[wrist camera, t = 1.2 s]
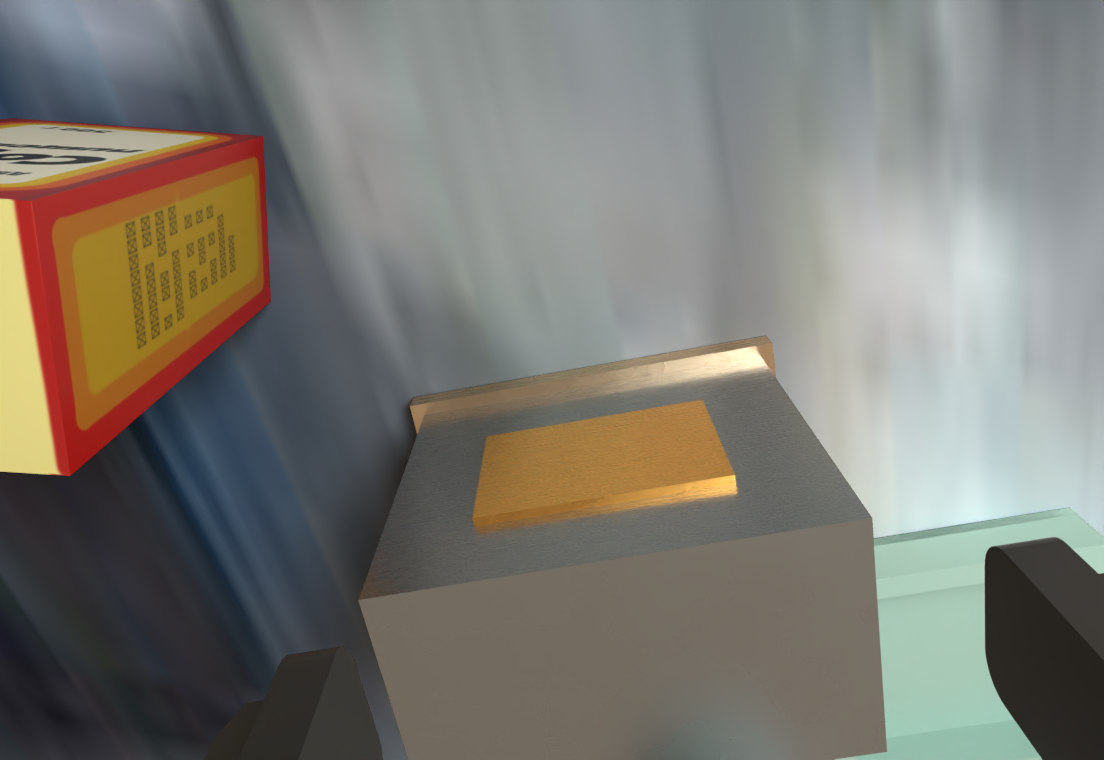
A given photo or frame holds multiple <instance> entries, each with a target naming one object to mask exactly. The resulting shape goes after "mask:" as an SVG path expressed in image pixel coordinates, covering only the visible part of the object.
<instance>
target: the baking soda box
mask: <svg viewBox="0 0 1104 760" xmlns="http://www.w3.org/2000/svg"><path fill="white" fill-rule="evenodd" d="M270 301H271V297H270V276H269V254H268V233H267V212H266V190H265V169H264V148H263V136H253V135H239V134H225V133H211V132H197V131H183V130H169V129H155V128H141V127H127V126H113V125H99V124H85V123H71V122H57V121H43V120H29V119H15V118H10V119H1V120H0V472H17V473H33V474H49V475H65V476H71V475H72V474H73V473H74V472H75V471H77V470H78V469H79V468H80V467H81V466H82V465H83V464H85V463H86V462H87V461H88V460H89V459H90V458H91V457H93V456H94V455H95V454H96V453H97V452H98V451H99V450H101V449H102V448H103V447H104V446H105V445H106V444H108V443H109V442H110V441H111V440H112V439H113V438H114V437H116V436H117V435H118V434H119V433H120V432H121V431H122V430H124V429H125V428H126V427H127V426H128V425H129V424H130V423H132V422H133V421H134V420H135V419H136V418H137V417H139V416H140V415H141V414H142V413H143V412H144V411H145V410H147V409H148V408H149V407H150V406H151V405H152V404H153V403H155V402H156V401H157V400H158V399H159V398H160V397H161V396H163V395H164V394H165V393H166V392H167V391H168V390H169V389H171V388H172V387H173V386H174V385H175V384H176V383H178V382H179V381H180V380H181V379H182V378H183V377H184V376H186V375H187V374H188V373H189V372H190V371H191V370H192V369H194V368H195V367H196V366H197V365H198V364H199V363H200V362H202V361H203V360H204V359H205V358H206V357H207V356H209V355H210V354H211V353H212V352H213V351H214V350H215V349H217V348H218V347H219V346H220V345H221V344H222V343H223V342H225V341H226V340H227V339H228V338H229V337H230V336H231V335H233V334H234V333H235V332H236V331H237V330H238V329H240V328H241V327H242V326H243V325H244V324H245V323H246V322H248V321H249V320H250V319H251V318H252V317H253V316H254V315H256V314H257V313H258V312H259V311H260V310H261V309H262V308H264V307H265V306H266V305H267V304H268V303H269V302H270Z"/></svg>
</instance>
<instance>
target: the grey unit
mask: <svg viewBox="0 0 1104 760" xmlns="http://www.w3.org/2000/svg"><path fill="white" fill-rule="evenodd" d="M410 409H411V413H412V416H413V420H414V424H415V428H416V432H417V437H416V440H415V443H414V446H413V449H412V451H411V454H410V457H409V460H408V463H407V465H406V468H405V471H404V474H403V476H402V479H401V482H400V485H399V488H398V490H397V493H396V496H395V499H394V502H393V504H392V507H391V510H390V513H389V516H388V518H387V521H386V524H385V527H384V530H383V532H382V535H381V538H380V541H379V544H378V546H377V549H376V552H375V555H374V558H373V560H372V563H371V566H370V569H369V572H368V574H367V577H366V580H365V583H364V585H363V588H362V591H361V594H360V597H359V599H358V601H359V604H360V607H361V610H362V614H363V617H364V620H365V623H366V626H367V630H368V633H369V636H370V639H371V642H372V645H373V649H374V652H375V655H376V658H377V661H378V665H379V668H380V671H381V674H382V677H383V680H384V684H385V687H386V690H387V693H388V696H389V700H390V703H391V706H392V709H393V712H394V716H395V719H396V722H397V725H398V728H399V731H400V735H401V738H402V741H403V744H404V747H405V751H406V754H407V757H408V760H834V759H841V758H848V757H855V756H862V755H869V754H876V753H883V752H887V742H886V727H885V711H884V696H883V680H882V664H881V649H880V633H879V618H878V602H877V586H876V571H875V555H874V540H873V524H872V517H871V516H870V514H869V513H868V511H867V510H866V508H865V507H864V506H863V504H862V503H861V501H860V500H859V498H858V497H857V495H856V494H855V492H854V491H853V490H852V488H851V487H850V485H849V484H848V482H847V481H846V479H845V478H844V476H843V475H842V474H841V472H840V471H839V469H838V468H837V466H836V465H835V463H834V462H833V461H832V459H831V458H830V456H829V455H828V453H827V452H826V450H825V449H824V447H823V446H822V445H821V443H820V442H819V440H818V439H817V437H816V436H815V434H814V433H813V431H812V430H811V429H810V427H809V426H808V424H807V423H806V421H805V420H804V418H803V417H802V415H801V414H800V413H799V411H798V410H797V408H796V407H795V405H794V404H793V402H792V401H791V399H790V398H789V397H788V395H787V394H786V392H785V391H784V389H783V388H782V386H781V385H780V384H779V382H778V381H777V379H776V374H775V364H774V355H773V345H772V342H771V341H770V339H769V338H768V337H767V336H761V337H756V338H750V339H744V340H739V341H733V342H727V343H721V344H716V345H710V346H704V347H699V348H693V349H687V350H681V351H676V352H670V353H664V354H659V355H653V356H647V357H641V358H636V359H630V360H624V361H619V362H613V363H607V364H601V365H596V366H590V367H584V368H578V369H573V370H567V371H561V372H556V373H550V374H544V375H538V376H533V377H527V378H521V379H516V380H510V381H504V382H498V383H493V384H487V385H481V386H476V387H470V388H464V389H458V390H453V391H447V392H441V393H436V394H430V395H424V396H418V397H413V400H412V402H411V405H410Z"/></svg>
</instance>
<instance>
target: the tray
mask: <svg viewBox="0 0 1104 760" xmlns="http://www.w3.org/2000/svg"><path fill="white" fill-rule="evenodd" d="M1049 537H1057V538H1059V539H1061V540H1063V541H1064V542H1065V543H1067V544H1068V545H1069V546H1070V547H1071V548H1072V549H1073V550H1074V551H1075V552H1076V553H1077V554H1078V555H1079V556H1080V557H1081V558H1082V559H1083V560H1084V561H1086V562H1087V563H1088V564H1089V565H1090V566H1091V567H1092V568H1093V569H1094V570H1095V571H1096V572H1097V573H1098V574H1101V573H1104V537H1103V536H1102V535H1101V534H1100V533H1098V532H1097V531H1096V530H1095V529H1094V528H1093V527H1092V526H1090V525H1089V524H1088V523H1087V522H1086V521H1085V520H1084V519H1082V518H1081V517H1080V516H1079V515H1078V514H1077V513H1076V512H1074V511H1073V510H1072V509H1071V508H1064V509H1058V510H1052V511H1045V512H1039V513H1033V514H1026V515H1020V516H1014V517H1007V518H1001V519H995V520H988V521H982V522H976V523H969V524H963V525H957V526H950V527H944V528H938V529H931V530H925V531H919V532H912V533H906V534H900V535H893V536H887V537H881V538H874V539H873V540H874V555H875V571H876V586H877V602H878V618H879V633H880V649H881V664H882V680H883V696H884V711H885V727H886V742H887V752H883V753H876V754H869V755H862V756H855V757H848V758H841V759H834V760H1042V758H1041V757H1040V756H1039V754H1038V753H1037V751H1036V750H1035V748H1034V747H1033V746H1032V744H1031V743H1030V741H1029V740H1028V738H1027V737H1026V736H1025V734H1024V733H1023V731H1022V730H1021V729H1020V727H1019V726H1018V724H1017V723H1016V721H1015V720H1014V719H1013V717H1012V716H1011V714H1010V713H1009V711H1008V710H1007V709H1006V707H1005V706H1004V704H1003V703H1002V701H1001V699H1000V697H999V696H998V694H997V691H996V689H995V687H994V684H993V682H992V679H991V676H990V673H989V669H988V665H987V660H986V654H985V556H986V553H987V551H988V549H989V548H990V547H992V546H998V545H1005V544H1011V543H1017V542H1024V541H1030V540H1037V539H1043V538H1049Z"/></svg>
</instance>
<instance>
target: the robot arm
mask: <svg viewBox="0 0 1104 760" xmlns="http://www.w3.org/2000/svg"><path fill="white" fill-rule="evenodd" d="M985 654H986V660H987V665H988V669H989V673H990V676H991V679H992V682H993V684H994V687H995V689H996V691H997V694H998V696H999V697H1000V699H1001V701H1002V703H1003V704H1004V706H1005V707H1006V709H1007V710H1008V711H1009V713H1010V714H1011V716H1012V717H1013V719H1014V720H1015V721H1016V723H1017V724H1018V726H1019V727H1020V729H1021V730H1022V731H1023V733H1024V734H1025V736H1026V737H1027V738H1028V740H1029V741H1030V743H1031V744H1032V746H1033V747H1034V748H1035V750H1036V751H1037V753H1038V754H1039V756H1040V757H1041V758H1042V760H1104V573H1101V574H1098V573H1097V572H1096V571H1095V570H1094V569H1093V568H1092V567H1091V566H1090V565H1089V564H1088V563H1087V562H1086V561H1084V560H1083V559H1082V558H1081V557H1080V556H1079V555H1078V554H1077V553H1076V552H1075V551H1074V550H1073V549H1072V548H1071V547H1070V546H1069V545H1068V544H1067V543H1065V542H1064V541H1063V540H1061V539H1059V538H1057V537H1049V538H1043V539H1037V540H1030V541H1024V542H1017V543H1011V544H1005V545H998V546H992V547H990V548H989V549H988V551H987V553H986V556H985ZM205 760H383V758H382V750H381V744H380V740H379V736H378V733H377V730H376V727H375V724H374V721H373V718H372V714H371V711H370V708H369V705H368V702H367V699H366V696H365V693H364V690H363V687H362V683H361V680H360V677H359V674H358V671H357V668H356V665H355V662H354V659H353V656H352V654H351V652H350V651H349V650H348V649H347V648H346V647H344V646H342V647H336V648H330V649H323V650H317V651H311V652H304V653H298V654H291V655H287V656H285V657H284V658H283V659H282V661H281V663H280V665H279V667H278V670H277V672H276V674H275V676H274V679H273V681H272V683H271V686H270V688H269V690H268V692H267V695H266V697H265V699H264V700H262V701H256V702H249V703H246V704H245V705H244V706H243V708H242V709H241V710H240V711H239V712H238V713H237V714H236V715H235V716H234V717H233V718H232V719H231V720H230V722H229V723H228V724H227V725H226V726H225V727H224V728H223V729H222V730H221V731H220V732H219V733H218V734H217V736H216V737H215V739H214V741H213V743H212V745H211V747H210V750H209V752H208V754H207V756H206V758H205Z"/></svg>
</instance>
